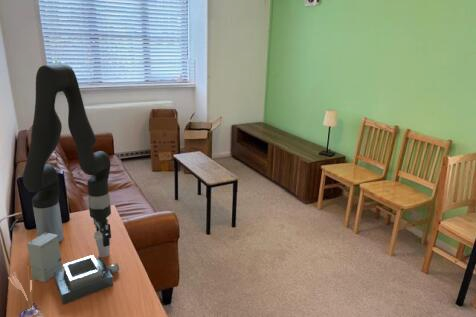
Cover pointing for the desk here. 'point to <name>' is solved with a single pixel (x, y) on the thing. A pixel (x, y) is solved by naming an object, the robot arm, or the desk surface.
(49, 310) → the desk surface
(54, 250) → the skincare box
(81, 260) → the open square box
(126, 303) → the desk surface
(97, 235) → the smoothie
